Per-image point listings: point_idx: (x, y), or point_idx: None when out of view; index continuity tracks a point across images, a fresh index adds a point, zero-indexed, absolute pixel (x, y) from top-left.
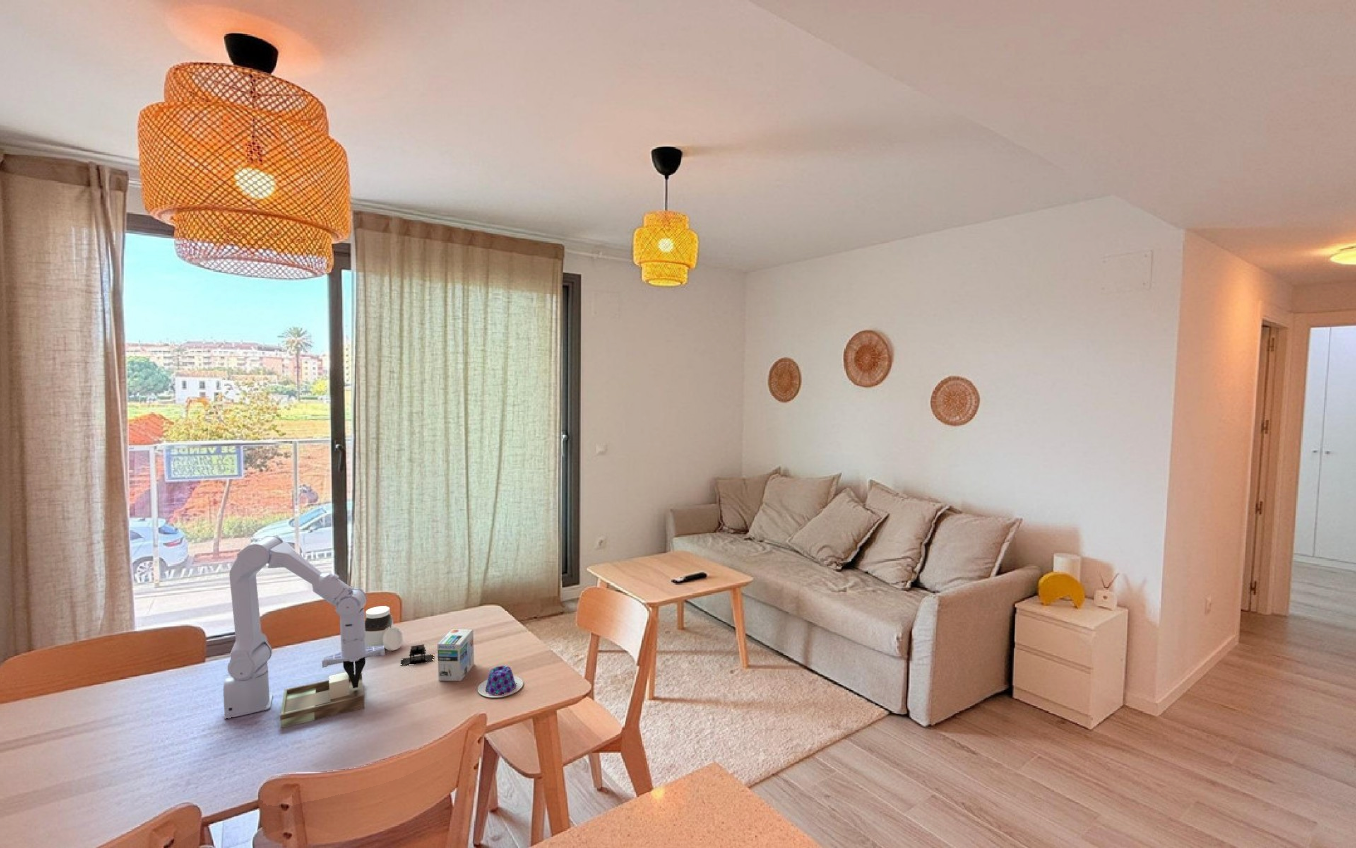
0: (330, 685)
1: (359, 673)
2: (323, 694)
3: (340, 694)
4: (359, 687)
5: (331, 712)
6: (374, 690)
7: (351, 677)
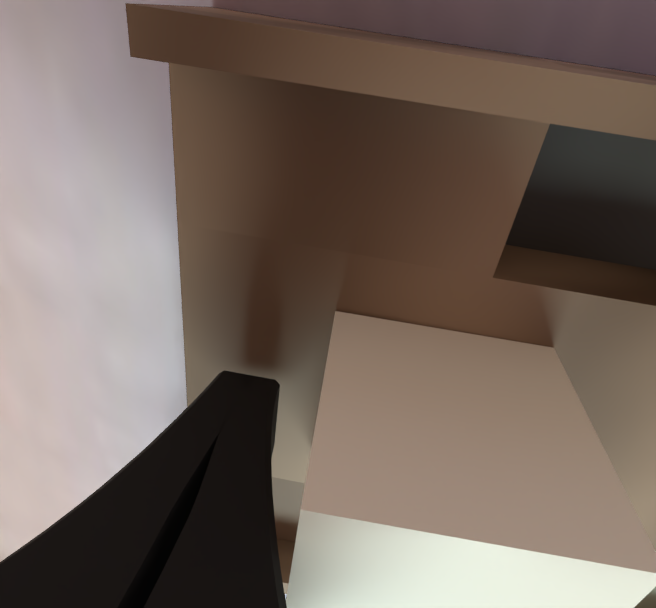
0: (621, 519)
1: (71, 538)
2: None
3: (438, 349)
4: None
5: (631, 73)
6: (122, 342)
7: (243, 521)
